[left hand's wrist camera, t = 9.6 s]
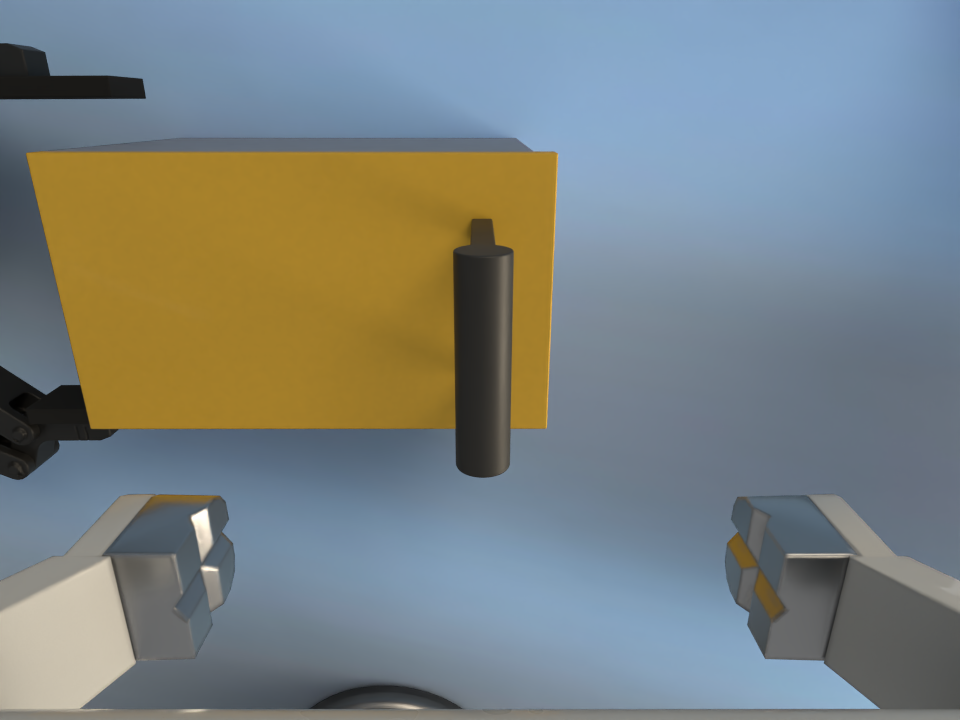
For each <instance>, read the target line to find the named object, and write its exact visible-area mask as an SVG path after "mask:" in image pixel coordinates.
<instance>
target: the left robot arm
mask: <svg viewBox="0 0 960 720" xmlns="http://www.w3.org/2000/svg"><path fill="white" fill-rule="evenodd" d="M228 520H229V517H228V512H227V507H226V502H225V501H224V500H223V499H222V497H221V496H207V495H155V494H130V495H124V496H120V497H119V498H118V499H117V500H116V501H115V502H114V503H113V504H112V505H111V506H110V507H109V508H108V509H107V510H106V511H105V513H104V514H103V515H102V516H101V517H100V518H99V519H98V520H97V521H96V522H95V523H94V524H93V525H92V526H91V527H90V528H89V529H88V531H87V532H86V533H85V534H84V535H83V536H82V537H81V538H80V539H79V540H78V541H77V542H76V543H75V544H74V545H73V546H72V547H71V549H70V550H69V551H68V552H67V553H66V554H65V555H64V556H52V557H50V558H48V559H46V560H44V561H42V562H39V563H37V564H35V565H33V566H31V567H29V568H27V569H24V570H22V571H20V572H18V573H16V574H14V575H12V576H10V577H7V578H5V579H3V580H1V581H0V720H960V581H959V580H957V579H955V578H952V577H950V576H948V575H946V574H944V573H942V572H940V571H938V570H935V569H933V568H931V567H929V566H927V565H925V564H923V563H921V562H918V561H916V560H914V559H912V558H910V557H908V556H896V555H895V554H894V553H893V552H892V551H891V550H890V549H889V547H888V546H887V545H886V544H885V543H884V542H883V541H882V540H881V539H880V538H879V537H878V536H877V535H876V534H875V533H874V532H873V530H872V529H871V528H870V527H869V526H868V525H867V524H866V523H865V522H864V521H863V520H862V519H861V518H860V517H859V516H858V515H857V513H856V512H855V511H854V510H853V509H852V508H851V507H850V506H849V505H848V504H847V503H846V502H845V501H844V500H843V499H842V498H841V497H839V496H837V495H835V494H816V495H793V496H752V497H737V499H736V501H735V503H734V505H733V511H732V516H731V520H732V522H733V524H734V525H735V527H736V529H737V530H738V533H737V534H736V535H735V536H734V537H733V538H732V539H731V540H730V541H729V542H728V543H727V548H726V556H725V568H726V579H727V582H728V586H729V589H730V592H731V594H732V596H733V598H734V600H735V602H736V604H738V605H739V606H741V607H742V608H744V609H745V610H746V611H748V612H749V618H748V624H747V625H748V627H749V629H750V631H751V633H752V635H753V637H754V639H755V640H756V642H757V644H758V646H759V648H760V650H761V652H762V654H763V656H764V657H765V659H787V660H823V661H824V664H826V665H827V666H828V667H829V668H831V669H832V670H833V671H834V672H835V673H837V674H838V675H839V676H840V677H842V678H843V679H844V680H845V681H847V682H848V683H849V684H850V685H852V686H853V687H854V688H855V689H856V690H858V691H859V692H860V693H861V694H863V695H864V696H865V697H866V698H868V699H869V700H870V701H871V702H873V703H874V704H875V705H876V706H877V707H879V708H880V709H80V708H81V707H83V706H84V705H85V704H86V703H88V702H89V701H90V700H91V699H93V698H94V697H95V696H96V695H98V694H99V693H100V692H101V691H103V690H104V689H105V688H106V687H107V686H109V685H110V684H111V683H112V682H114V681H115V680H116V679H117V678H119V677H120V676H121V675H122V674H124V673H125V672H126V671H127V670H129V669H130V668H131V667H132V666H133V665H135V664H136V661H137V660H171V659H195V658H196V656H197V654H198V652H199V650H200V648H201V646H202V644H203V642H204V640H205V639H206V637H207V635H208V633H209V631H210V629H211V627H212V625H213V624H212V618H211V612H212V611H214V610H215V609H216V608H218V607H219V606H221V605H222V604H224V602H225V600H226V598H227V596H228V594H229V592H230V590H231V585H232V581H233V576H234V572H235V554H234V548H233V543H232V542H231V541H230V540H229V539H228V538H227V537H226V536H225V535H224V534H223V533H222V530H223V529H224V527H225V525H226V524H227V522H228Z"/></svg>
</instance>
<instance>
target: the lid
mask: <svg viewBox="0 0 960 720" xmlns="http://www.w3.org/2000/svg"><path fill="white" fill-rule="evenodd" d="M26 157H27V161H28V165H29V169H30V173H31V178H32V182H33V186H34V190H35V195H36V199H37V203H38V207H39V212H40V216H41V220H42V224H43V228H44V233H45V237H46V241H47V245H48V250H49V254H50V258H51V262H52V267H53V271H54V275H55V279H56V283H57V288H58V292H59V296H60V300H61V305H62V309H63V313H64V317H65V322H66V326H67V330H68V334H69V338H70V343H71V347H72V351H73V355H74V360H75V364H76V368H77V372H78V377H79V381H80V385H81V389H82V393H83V398H84V402H85V406H86V410H87V415H88V419H89V423H90V427H91V429H456V466H457V468H458V469H459V470H460V471H461V472H462V473H464V474H466V475H469V476H473V477H480V478H486V477H493V476H497V475H500V474H502V473H504V472H505V471H506V470H507V469H508V467H509V465H510V429H546V428H547V409H548V385H549V361H550V337H551V312H552V288H553V264H554V240H555V215H556V191H557V167H558V153H556V152H256V151H40V152H30V153H26Z"/></svg>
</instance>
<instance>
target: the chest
mask: <svg viewBox="0 0 960 720" xmlns="http://www.w3.org/2000/svg"><path fill="white" fill-rule="evenodd" d="M51 151H256V152H534V151H532V150H531V149H530V148H528V147H527V146H526V145H524V144H523V143H522V142H520V141H519V140H518V139H516V138H176V139H165V140H155V141H145V142H134V143H124V144H114V145H103V146H93V147H82V148H72V149H62V150H51Z"/></svg>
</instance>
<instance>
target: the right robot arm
mask: <svg viewBox="0 0 960 720" xmlns="http://www.w3.org/2000/svg"><path fill="white" fill-rule="evenodd" d="M0 99H146V96H145V90H144V85H143V79H138V78H128V77H117V76H50V73H49V68H48V64H47V59H46V54H45V52H43V51H41V50H38V49H35V48H33V47H29V46H22V45H15V44H8V43H0ZM117 430H118V429H91V427H90V423H89V419H88V415H87V410H86V406H85V402H84V398H83V393H82V389H81V385H61V386H59V387H58V388H56V389H55V390H53V391H52V392H50V393H49V394H47V395H45V394H43V393H42V392H40V391H39V390H37V389H36V388H34V387H32V386H31V385H29V384H28V383H26V382H25V381H23V380H21V379H20V378H18V377H17V376H15V375H14V374H12V373H11V372H9V371H7V370H6V369H4V368H3V367H1V366H0V474H2V475H4V476H7V477H9V478H12V479H16V480H20V479H24V478H25V477H27V476H28V475H29V474H31V473H32V472H33V471H34V470H36V469H37V468H38V467H39V466H40V465H42V464H43V463H44V462H45V461H47V460H48V459H49V458H50V457H52V456H53V455H54V454H55V453H56V452H57V451H58V450H59V443H58V440H103V439H105V438H108V437H110V436H112V435H113V434H114V433H115V432H116V431H117ZM311 709H462V708H460V707H459V706H457V705H456V704H454V703H452V702H450V701H448V700H446V699H444V698H442V697H439V696H437V695H434V694H431V693H429V692H425V691H421V690H418V689H412V688H407V687H398V686H371V687H363V688H357V689H352V690H349V691H345V692H342V693H339V694H336V695H334V696H331V697H329V698H327V699H325V700H323V701H321V702H320V703H318V704H316V705H315V706H314V707H312V708H311Z"/></svg>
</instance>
